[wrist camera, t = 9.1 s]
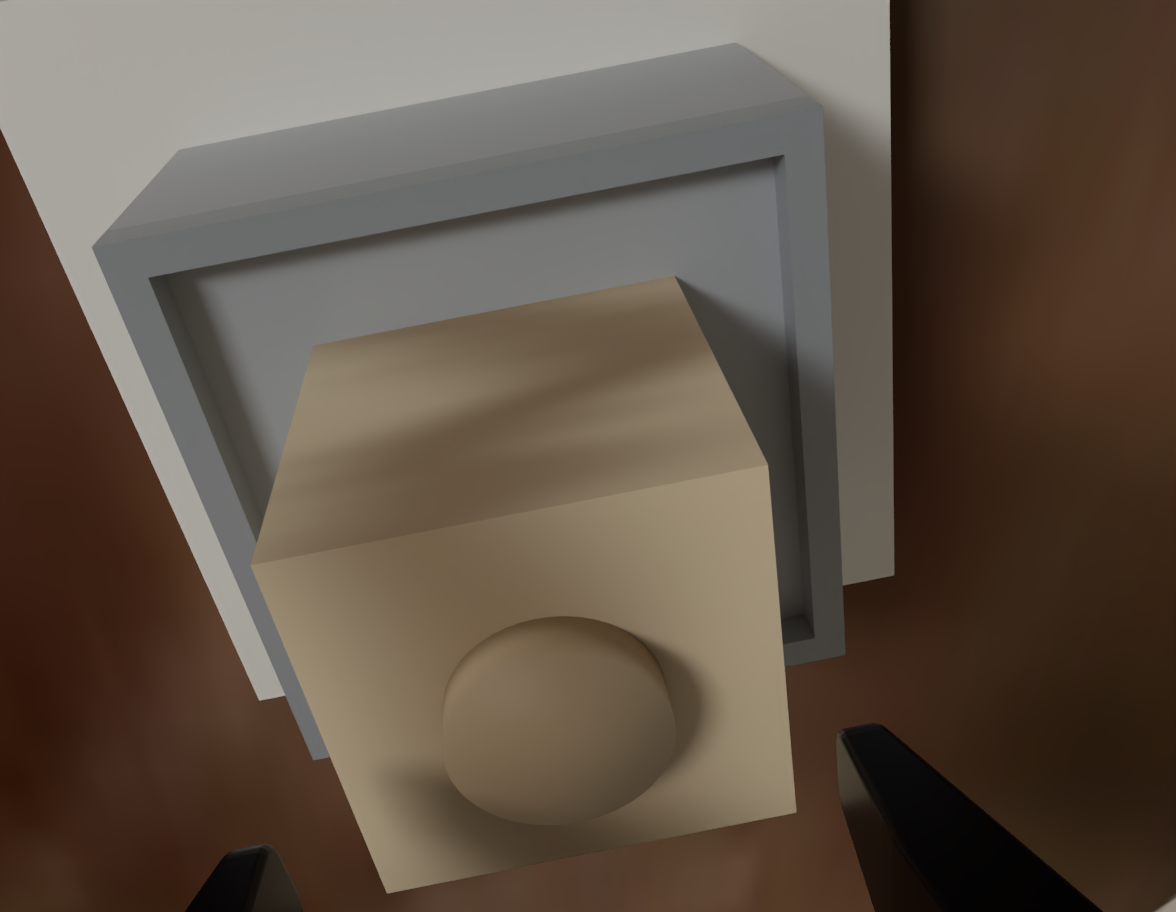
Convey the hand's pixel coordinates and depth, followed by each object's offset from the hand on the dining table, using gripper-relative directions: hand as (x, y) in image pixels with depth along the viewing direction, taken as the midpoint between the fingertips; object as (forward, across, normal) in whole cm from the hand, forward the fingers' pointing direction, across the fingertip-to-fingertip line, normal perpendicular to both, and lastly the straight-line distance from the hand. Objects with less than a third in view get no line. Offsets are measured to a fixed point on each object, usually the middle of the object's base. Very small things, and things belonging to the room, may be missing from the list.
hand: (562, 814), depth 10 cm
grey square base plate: (+12, 0, 0) cm, 12 cm away
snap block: (+6, 0, 0) cm, 7 cm away
